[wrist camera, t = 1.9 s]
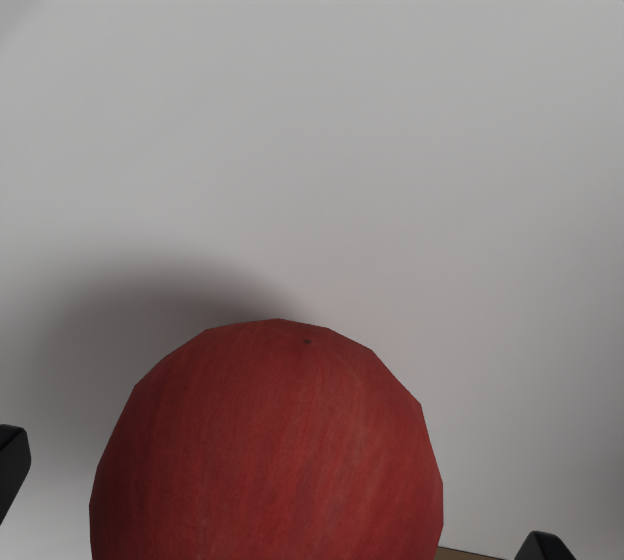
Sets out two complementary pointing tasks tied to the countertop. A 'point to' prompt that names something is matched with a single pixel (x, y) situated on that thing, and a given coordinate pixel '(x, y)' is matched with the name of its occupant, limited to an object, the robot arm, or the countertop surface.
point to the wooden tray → (457, 555)
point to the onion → (268, 455)
